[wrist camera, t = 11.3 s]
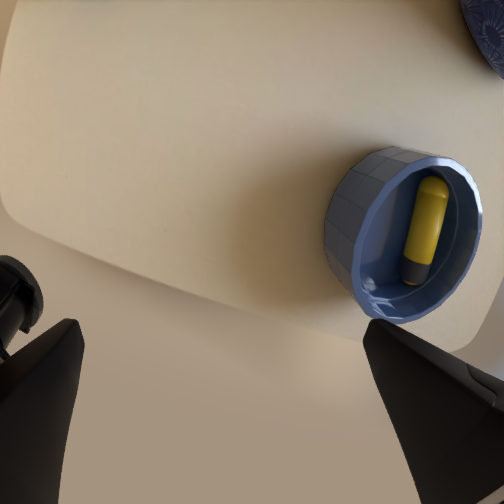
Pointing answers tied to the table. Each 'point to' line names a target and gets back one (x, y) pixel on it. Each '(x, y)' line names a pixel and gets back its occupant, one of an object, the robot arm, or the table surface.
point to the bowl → (399, 232)
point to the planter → (487, 29)
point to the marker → (424, 230)
